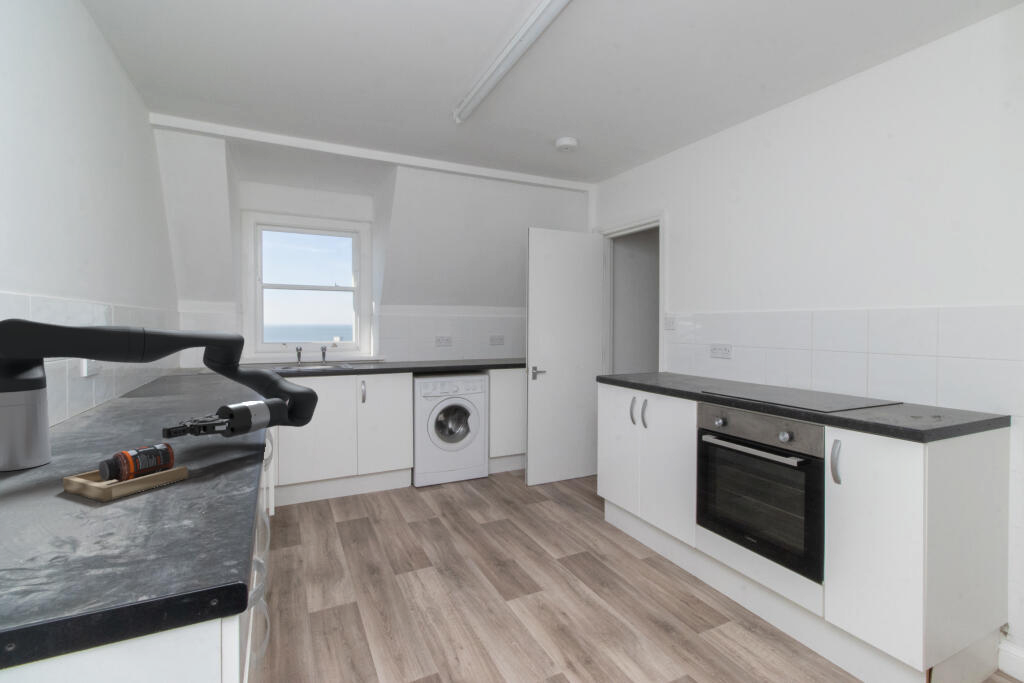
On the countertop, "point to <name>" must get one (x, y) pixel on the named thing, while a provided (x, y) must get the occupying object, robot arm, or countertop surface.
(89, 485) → the beech tray
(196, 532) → the countertop surface
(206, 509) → the countertop surface
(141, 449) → the supplement bottle
